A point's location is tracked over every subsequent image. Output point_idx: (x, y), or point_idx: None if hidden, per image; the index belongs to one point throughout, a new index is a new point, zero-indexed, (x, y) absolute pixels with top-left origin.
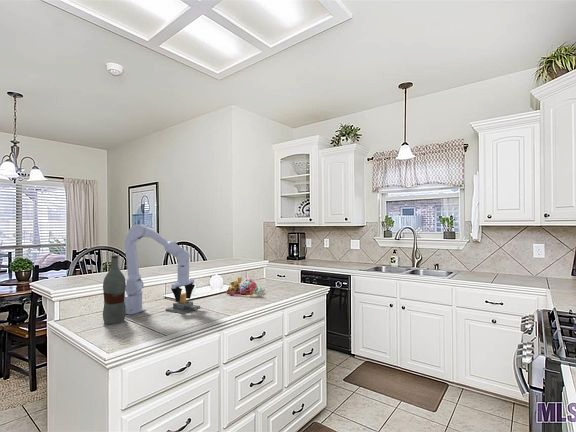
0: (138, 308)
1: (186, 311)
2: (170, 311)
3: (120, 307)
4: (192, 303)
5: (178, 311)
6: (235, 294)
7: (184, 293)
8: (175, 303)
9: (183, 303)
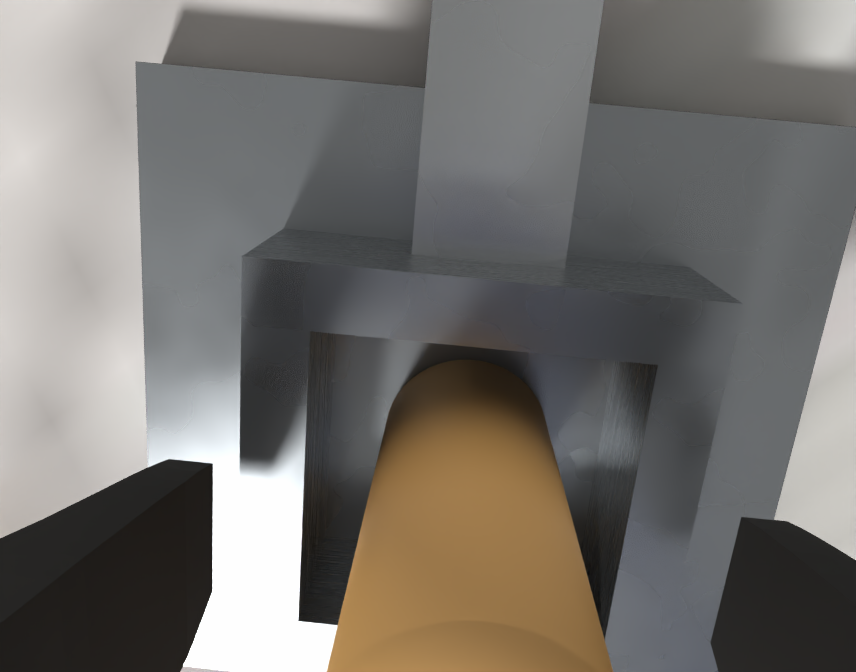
0: None
1: (762, 120)
2: None
3: None
4: (291, 250)
5: (810, 338)
6: None
7: None
8: (640, 647)
9: (538, 442)
